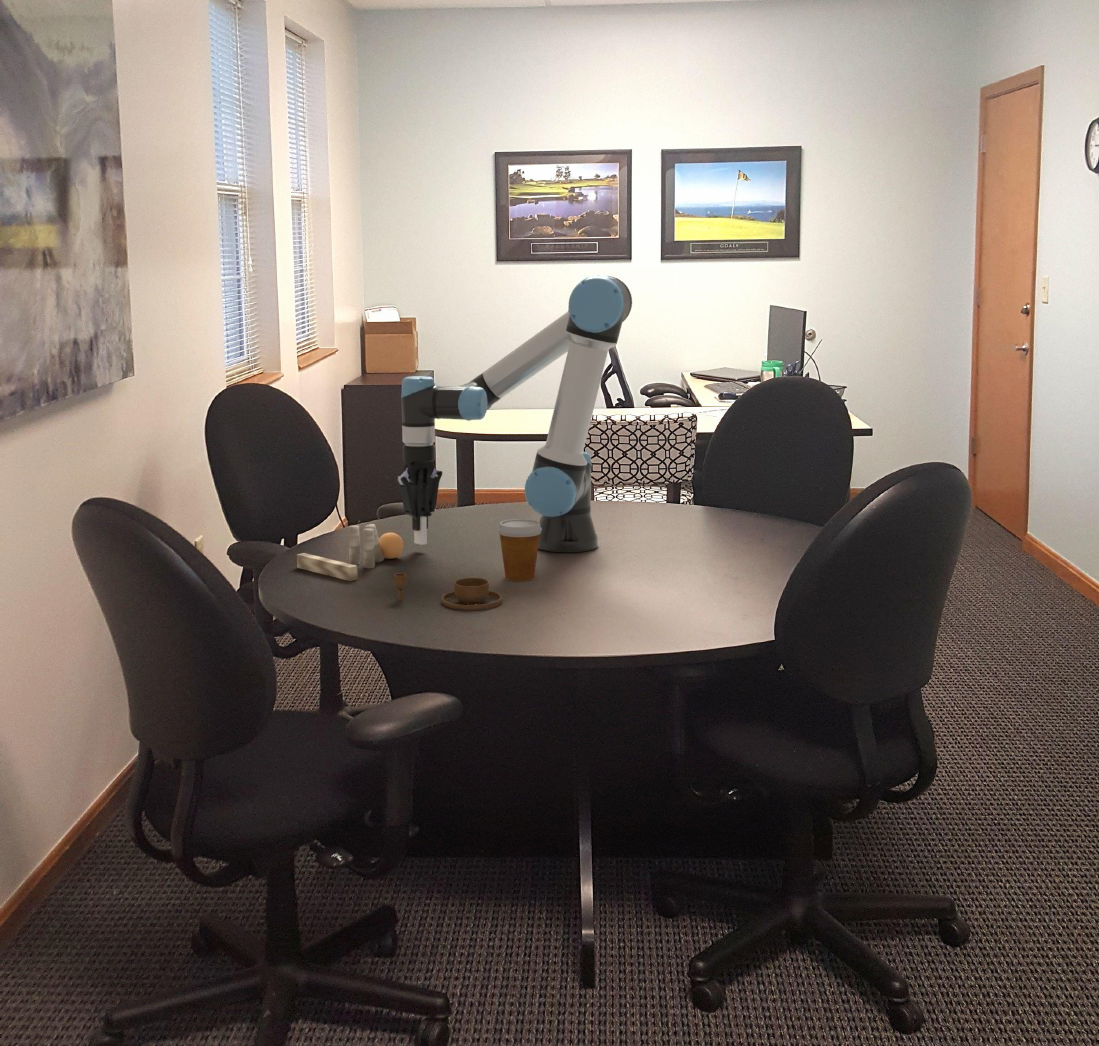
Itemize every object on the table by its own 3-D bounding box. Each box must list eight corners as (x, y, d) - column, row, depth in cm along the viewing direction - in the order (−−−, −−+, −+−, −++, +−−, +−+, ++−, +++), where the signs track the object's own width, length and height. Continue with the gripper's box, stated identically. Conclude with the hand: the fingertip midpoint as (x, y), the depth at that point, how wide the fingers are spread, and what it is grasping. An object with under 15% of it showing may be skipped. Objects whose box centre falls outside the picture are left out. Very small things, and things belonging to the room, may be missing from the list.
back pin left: (377, 566, 264) (376, 529, 263) (369, 568, 263) (367, 531, 261) (370, 565, 266) (369, 528, 264) (361, 567, 264) (360, 529, 262)
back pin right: (362, 563, 267) (361, 526, 266) (354, 565, 266) (353, 528, 264) (355, 561, 269) (354, 524, 267) (347, 563, 267) (346, 526, 265)
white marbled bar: (357, 579, 253) (357, 565, 253) (350, 581, 252) (349, 567, 251) (304, 566, 265) (304, 552, 264) (297, 567, 263) (296, 554, 263)
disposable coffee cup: (536, 584, 250) (536, 528, 247) (492, 582, 252) (492, 526, 249) (546, 573, 259) (546, 519, 256) (503, 571, 261) (503, 517, 258)
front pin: (386, 558, 269) (377, 524, 266) (378, 563, 268) (369, 529, 264) (378, 556, 271) (370, 523, 267) (371, 561, 269) (362, 527, 266)
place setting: (466, 620, 226) (466, 590, 224) (388, 604, 237) (387, 575, 236) (521, 600, 240) (521, 572, 238) (445, 586, 251) (444, 558, 250)
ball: (386, 550, 266) (398, 566, 271) (401, 530, 269) (412, 546, 273) (367, 544, 270) (379, 560, 274) (382, 525, 273) (394, 541, 277)
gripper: (428, 439, 281) (429, 536, 286) (386, 445, 272) (389, 545, 276) (450, 442, 276) (451, 541, 281) (409, 448, 267) (411, 550, 272)
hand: (420, 543), depth 279 cm, fingers closed
